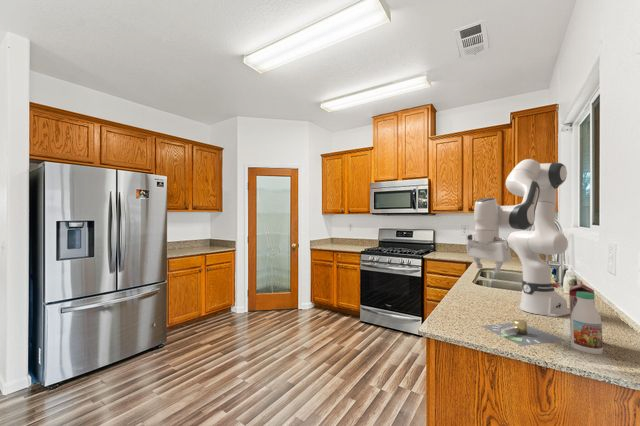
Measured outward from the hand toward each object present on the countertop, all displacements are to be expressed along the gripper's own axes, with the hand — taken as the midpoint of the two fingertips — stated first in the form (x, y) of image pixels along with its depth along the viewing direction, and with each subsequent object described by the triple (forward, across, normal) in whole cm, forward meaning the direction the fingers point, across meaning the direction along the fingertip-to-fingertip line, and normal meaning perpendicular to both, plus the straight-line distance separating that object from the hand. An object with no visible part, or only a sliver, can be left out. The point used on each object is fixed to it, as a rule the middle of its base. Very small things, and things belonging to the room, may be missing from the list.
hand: (487, 270), depth 119 cm
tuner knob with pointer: (+23, -10, -2) cm, 25 cm away
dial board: (+24, -9, -6) cm, 26 cm away
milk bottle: (+24, -25, -16) cm, 38 cm away
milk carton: (+25, -18, -24) cm, 39 cm away
